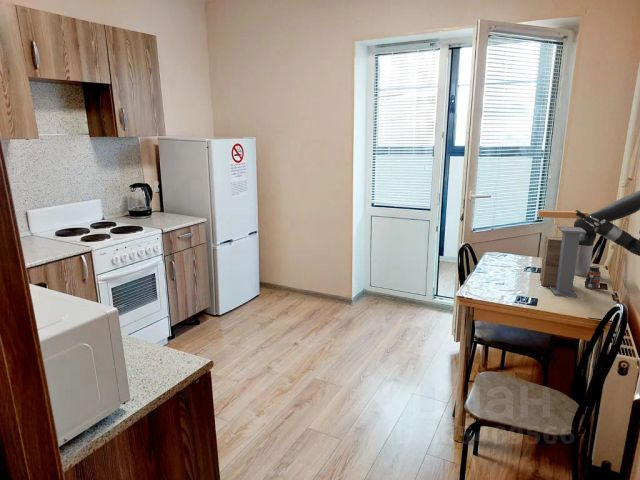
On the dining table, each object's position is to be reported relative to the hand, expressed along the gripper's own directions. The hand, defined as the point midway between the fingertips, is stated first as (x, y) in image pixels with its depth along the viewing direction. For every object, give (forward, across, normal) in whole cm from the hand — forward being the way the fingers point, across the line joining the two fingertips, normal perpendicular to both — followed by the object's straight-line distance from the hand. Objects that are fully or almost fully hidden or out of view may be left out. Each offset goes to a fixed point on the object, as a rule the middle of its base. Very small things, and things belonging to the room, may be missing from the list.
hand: (576, 212), depth 213 cm
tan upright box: (-14, 0, +37) cm, 39 cm away
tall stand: (-16, +13, +36) cm, 41 cm away
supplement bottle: (-29, 0, +28) cm, 41 cm away
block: (+4, 0, +6) cm, 7 cm away
